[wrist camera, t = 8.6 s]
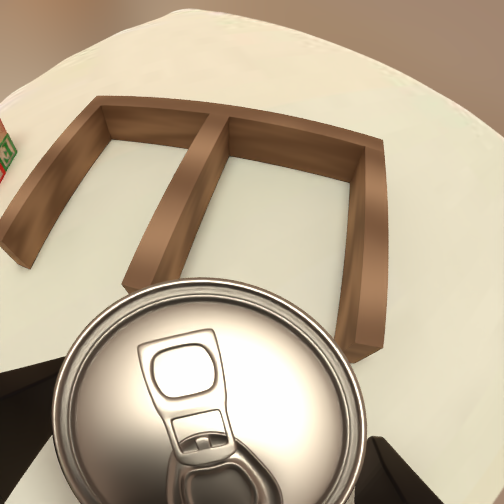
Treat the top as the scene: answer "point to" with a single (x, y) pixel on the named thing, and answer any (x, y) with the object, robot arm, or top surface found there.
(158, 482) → the can
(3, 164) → the stack of blocks
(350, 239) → the shelf lanes
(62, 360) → the robot arm
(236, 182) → the top surface
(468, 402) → the top surface
